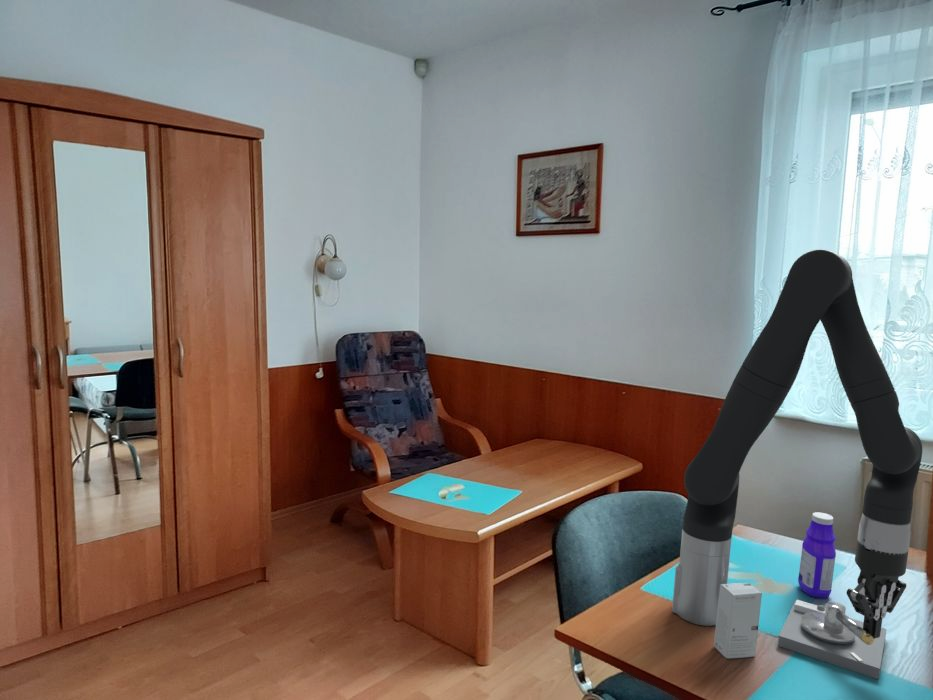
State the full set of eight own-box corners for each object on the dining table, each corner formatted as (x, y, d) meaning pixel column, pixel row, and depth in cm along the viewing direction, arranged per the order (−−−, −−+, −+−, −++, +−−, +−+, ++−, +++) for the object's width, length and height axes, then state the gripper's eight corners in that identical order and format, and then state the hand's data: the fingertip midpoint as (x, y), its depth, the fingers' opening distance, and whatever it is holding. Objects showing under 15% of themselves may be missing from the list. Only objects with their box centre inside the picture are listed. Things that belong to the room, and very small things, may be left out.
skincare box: (726, 660, 119) (733, 595, 117) (712, 645, 123) (718, 583, 122) (757, 656, 121) (763, 593, 119) (741, 642, 125) (748, 581, 123)
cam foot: (791, 618, 130) (794, 589, 129) (835, 618, 131) (838, 590, 130) (842, 668, 114) (846, 636, 113) (893, 667, 115) (897, 636, 114)
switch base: (777, 645, 124) (780, 625, 124) (793, 610, 137) (795, 592, 137) (878, 679, 115) (881, 657, 115) (885, 638, 128) (887, 619, 128)
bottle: (835, 600, 142) (845, 522, 140) (809, 599, 142) (818, 521, 140) (818, 584, 149) (827, 509, 147) (792, 583, 149) (801, 508, 147)
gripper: (886, 528, 121) (875, 618, 123) (836, 539, 116) (825, 632, 118) (929, 545, 114) (916, 639, 117) (878, 557, 109) (866, 656, 111)
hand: (870, 636), depth 117 cm, fingers closed
